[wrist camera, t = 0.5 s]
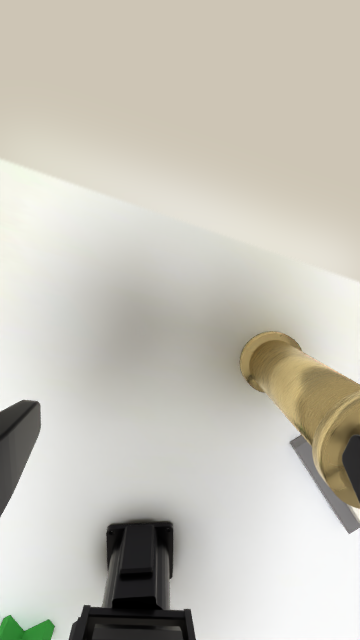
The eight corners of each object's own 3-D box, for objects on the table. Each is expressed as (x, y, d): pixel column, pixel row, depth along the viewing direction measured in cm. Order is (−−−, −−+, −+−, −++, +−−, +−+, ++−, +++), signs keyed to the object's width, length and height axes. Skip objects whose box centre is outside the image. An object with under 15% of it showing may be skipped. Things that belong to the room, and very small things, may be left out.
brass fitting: (296, 389, 25) (432, 507, 13) (238, 389, 25) (317, 513, 12) (302, 331, 24) (456, 396, 12) (241, 331, 24) (332, 398, 11)
